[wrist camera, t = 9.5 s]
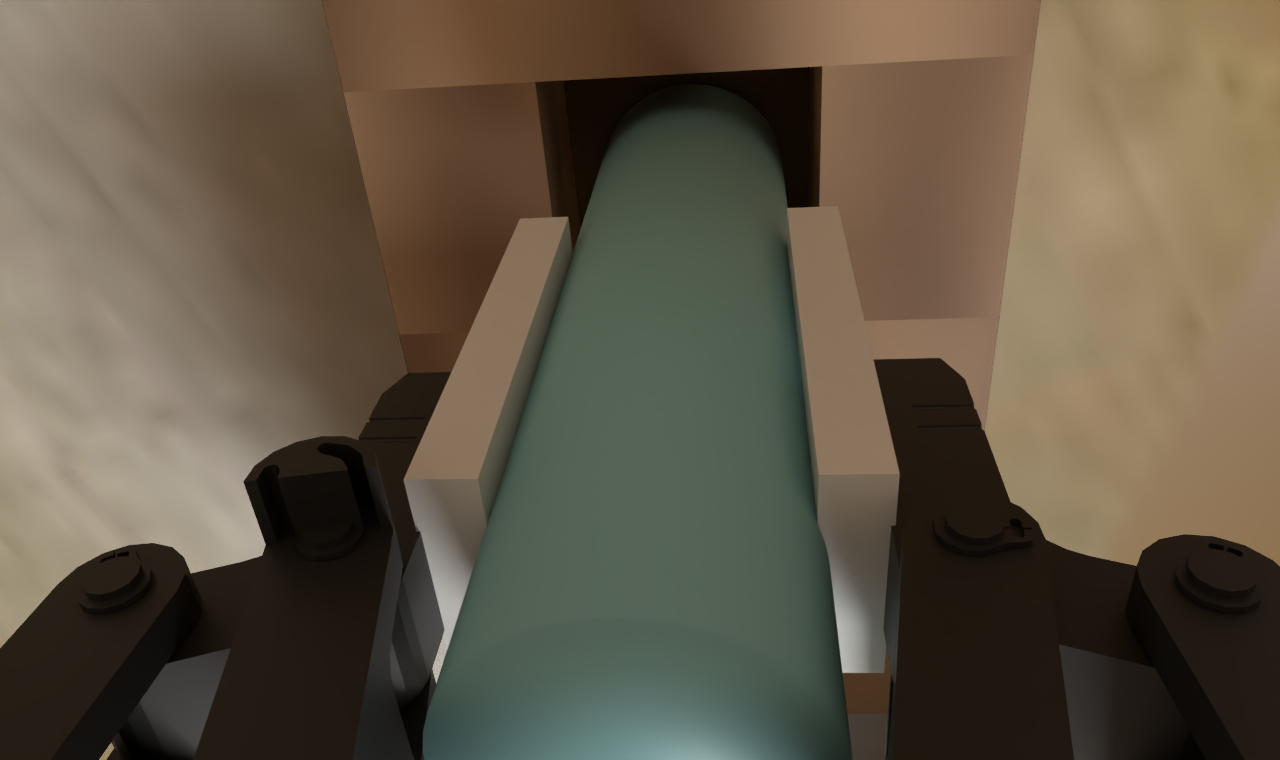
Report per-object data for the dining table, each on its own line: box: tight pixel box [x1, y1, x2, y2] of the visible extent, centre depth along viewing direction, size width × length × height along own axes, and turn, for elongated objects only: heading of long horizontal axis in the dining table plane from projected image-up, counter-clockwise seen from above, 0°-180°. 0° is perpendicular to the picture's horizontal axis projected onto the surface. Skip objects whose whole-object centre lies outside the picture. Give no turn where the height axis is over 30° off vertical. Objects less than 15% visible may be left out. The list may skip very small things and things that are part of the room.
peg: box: [423, 84, 853, 760], centre depth 14 cm, size 4×4×14 cm
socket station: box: [322, 0, 1041, 760], centre depth 19 cm, size 14×20×12 cm
